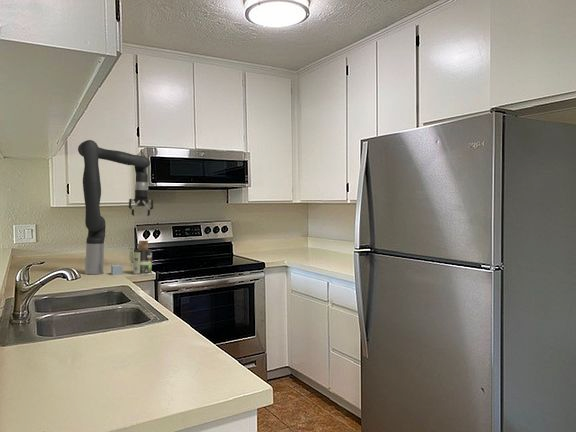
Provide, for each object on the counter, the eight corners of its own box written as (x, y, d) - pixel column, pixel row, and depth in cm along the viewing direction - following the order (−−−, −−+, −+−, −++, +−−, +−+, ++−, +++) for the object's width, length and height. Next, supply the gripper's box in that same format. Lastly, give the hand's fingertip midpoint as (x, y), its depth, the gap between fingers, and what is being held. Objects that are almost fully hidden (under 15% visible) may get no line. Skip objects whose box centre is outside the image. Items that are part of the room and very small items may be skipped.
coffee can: (154, 272, 254) (154, 249, 254) (148, 275, 244) (148, 250, 244) (136, 272, 254) (137, 248, 254) (130, 274, 244) (130, 250, 244)
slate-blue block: (112, 275, 241) (112, 266, 241) (111, 273, 246) (111, 265, 245) (122, 274, 244) (122, 265, 244) (120, 273, 248) (120, 264, 248)
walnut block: (138, 250, 246) (138, 241, 246) (138, 249, 251) (139, 240, 250) (147, 250, 247) (147, 241, 247) (147, 249, 252) (148, 240, 252)
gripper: (128, 188, 257) (128, 215, 257) (153, 189, 262) (153, 216, 262) (129, 189, 264) (128, 215, 265) (153, 190, 269) (152, 216, 269)
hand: (140, 216), depth 263 cm, fingers open, 8 cm apart
